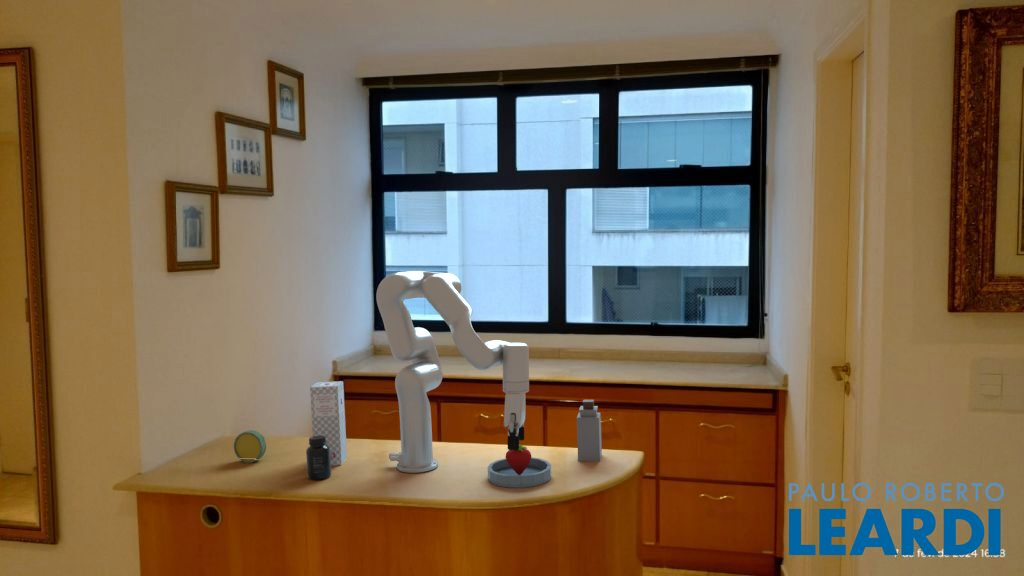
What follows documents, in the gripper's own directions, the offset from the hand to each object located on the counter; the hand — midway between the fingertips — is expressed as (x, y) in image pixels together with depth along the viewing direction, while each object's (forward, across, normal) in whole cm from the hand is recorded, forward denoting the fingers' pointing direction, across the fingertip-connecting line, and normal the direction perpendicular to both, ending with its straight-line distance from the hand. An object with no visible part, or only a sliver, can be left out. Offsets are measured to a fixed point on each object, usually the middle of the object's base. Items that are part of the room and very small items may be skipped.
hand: (516, 444), depth 205 cm
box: (+12, -12, -62) cm, 64 cm away
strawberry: (+9, 0, +1) cm, 9 cm away
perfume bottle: (+9, -20, +20) cm, 30 cm away
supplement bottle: (+12, +3, -59) cm, 60 cm away
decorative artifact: (+13, -13, -89) cm, 91 cm away
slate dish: (+10, 0, +1) cm, 10 cm away
